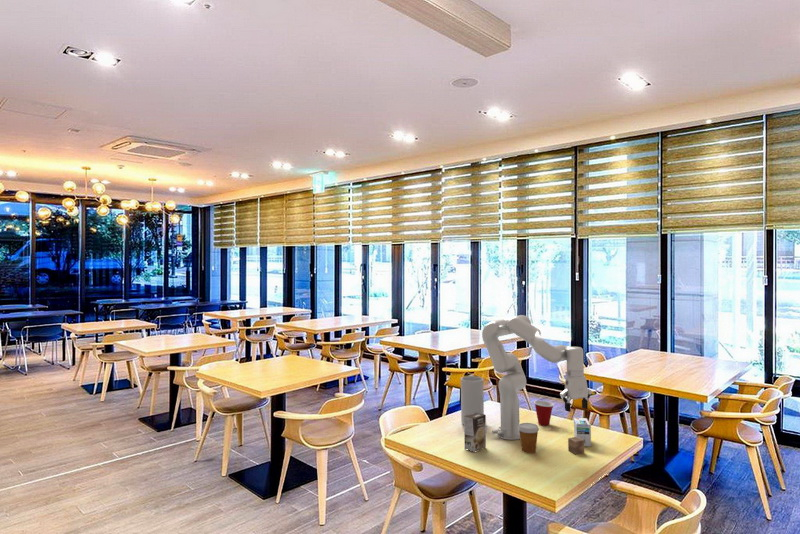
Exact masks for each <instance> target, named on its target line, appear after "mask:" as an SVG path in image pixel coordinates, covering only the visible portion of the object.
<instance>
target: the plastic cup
mask: <svg viewBox="0 0 800 534" xmlns="http://www.w3.org/2000/svg"><path fill="white" fill-rule="evenodd" d="M533 403H534V406H535V407H534V408H535V412H536V418H537V423H538V425H540V426H543V427H545V426H546V427H547V426H550V423H551V417H552V411H553V408H554V406H555V404H554V403H553V402H550V401H547V400H546V401H545V400H535V401H533Z"/></svg>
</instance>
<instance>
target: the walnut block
mask: <svg viewBox="0 0 800 534" xmlns="http://www.w3.org/2000/svg"><path fill="white" fill-rule="evenodd" d="M567 440H568V441H567V442H568V443H567V447H568V449H567V450H568V452H570V453H572V454H573V455H580V454H584V453H585V446H584V440H582V439H580V438H578V437H574V436H573V437H568V438H567Z"/></svg>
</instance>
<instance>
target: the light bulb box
mask: <svg viewBox="0 0 800 534" xmlns="http://www.w3.org/2000/svg"><path fill="white" fill-rule="evenodd" d="M591 426H592V424H591V423H590V421H589V419H588V418H586V417H585V418H584V417H573V433H574V434H573V435H574V436H573V437H578V438H580V439H582V440H584V447H592V427H591Z"/></svg>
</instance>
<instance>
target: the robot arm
mask: <svg viewBox="0 0 800 534" xmlns="http://www.w3.org/2000/svg"><path fill="white" fill-rule="evenodd" d="M481 331H482V332H481V333H482V334H481V336H482V341H483V344H484V346H485V347H486V350H487V353H488V355H489V358H490V361H491V363H492V366H493V369H494V370H495V371H496V372H497V373H498V374H504V373H506V374H505V375H503V376H501V378H500V379H499V380H498V384H497V385H498V391H499V399H500V400H499V404H500V407H499V408H500V426H498V428H497V429H492V431H491V432H492V435H494V434H495V435H496V434H497V437H498V438H500V439H502V438H503V440H509V441H516V440H520V432H519V429H518V427H519V424H520V398H519V395H518V392H519V391H522V390H523V389H524V388H525V387H526V385H527V378H526V375H525V372H524V370H523V368H522V365H521V362H520V360H519V358H518V356H516V354H514V353H512V352H506V349H505V347H504V345H503V343H502V341H501V340H500V339H499V337H502V336H503V337H504V336H508V335H511V334H514V335H516V336H517V337H519V338H520V339H522V340H523V341H525V342H526V343H528V345H530V346H531V348H532V349H533V351H534V352H535V353H536V354H537V355H539V356H540V357H541V358H543V359H544V360H545V361H548V362H550V363H553V364H558V363H559V362H563V361H566V371H565V373H564V374H565V375H566V376H565V380H564V381H565V382H564V390H563V391H562V392H560V393H559V396H560V399H561V400H562V401H563V403H564V411H566V412H568V413H570V412H571V403H570V402H571V401H572V400H578V399H581V409H584V410H588V409H589V407H588V404H589V403H588V401H589V400H590V398H591V394H592V390H591V389H590V388H588V382H587V378H586V376H585V369H584V364H585V363H584V362H585V361H584V349H583V348H582V347H581V346H568V345H565V344H558V345H555V346H553V345H552V344H550V343H549V342H547V341H545V340H544V339H543V337H542V335H541V334H542V331H541V330H540V329H539V328H537V327H535V326H534V325H532V322H531V320H530V318H529V317H528V316H526V315H525V314H524V315H523V314H520V315H515V316H512V317H508V318H504V319H497V320H492V321H490V322H487V323H486V324H485V325H484V327H483V329H482V330H481Z"/></svg>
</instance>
